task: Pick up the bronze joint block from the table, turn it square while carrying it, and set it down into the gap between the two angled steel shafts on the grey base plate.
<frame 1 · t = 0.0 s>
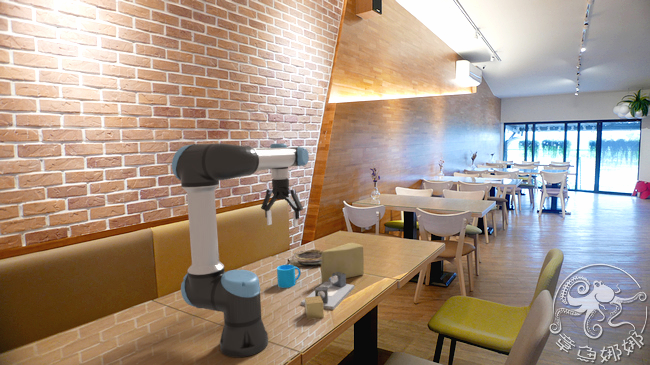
hand: (282, 225, 168), 28 cm above the table, tool pointing down, fingers open, 13 cm apart
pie: (311, 262, 207), on the table
shaft left: (322, 302, 152), resting on grey base plate
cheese: (341, 278, 179), on the table
grey base plate: (329, 295, 158), on the table
shaft right: (337, 288, 166), resting on grey base plate
mug: (290, 283, 174), on the table
joint block: (314, 315, 141), on the table
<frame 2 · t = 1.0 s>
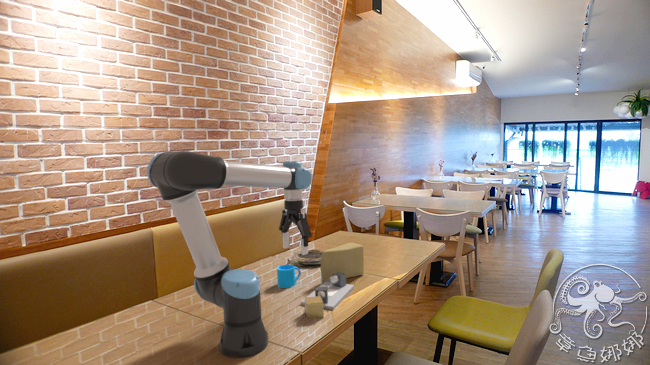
hand: (295, 251, 154), 20 cm above the table, tool pointing down, fingers open, 13 cm apart
nothing on the table moved.
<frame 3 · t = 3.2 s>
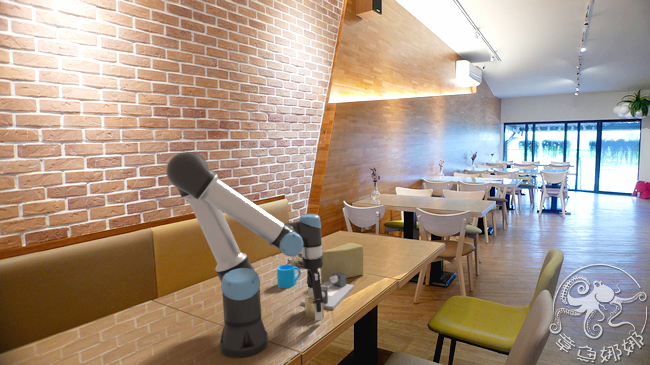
hand: (315, 311, 140), 1 cm above the table, tool pointing down, fingers open, 13 cm apart
nothing on the table moved.
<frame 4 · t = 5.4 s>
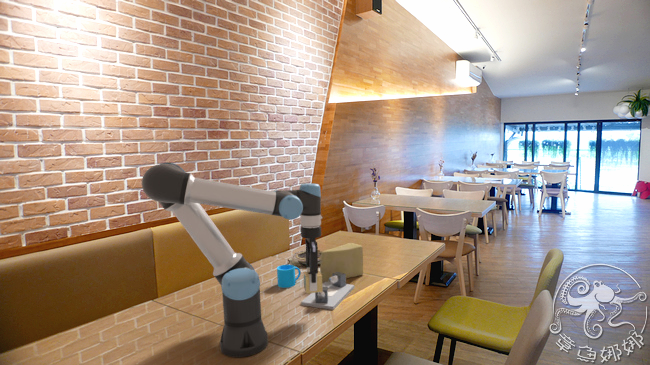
hand: (311, 287, 139), 11 cm above the table, tool pointing down, fingers closed on joint block, 6 cm apart
joint block: (313, 289, 140), point 10 cm above the table, touching gripper
everything else where it was.
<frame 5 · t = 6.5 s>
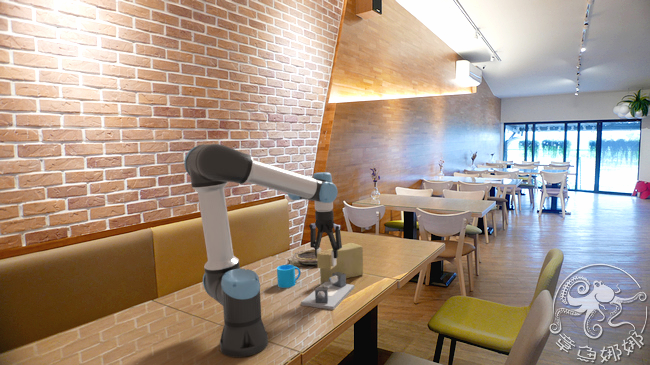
hand: (326, 264, 157), 14 cm above the table, tool pointing down, fingers closed on joint block, 6 cm apart
joint block: (327, 266, 157), point 13 cm above the table, touching gripper
everything else where it was.
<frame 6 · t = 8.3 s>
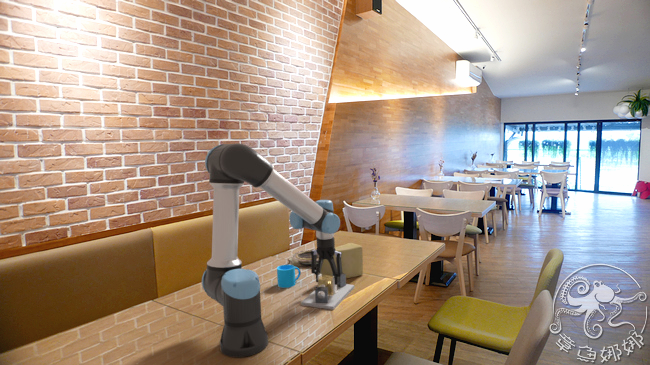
hand: (327, 290, 159), 2 cm above the table, tool pointing down, fingers closed on joint block, 6 cm apart
joint block: (327, 291, 159), point 1 cm above the table, touching grey base plate, gripper
everything else where it was.
when the fingers open (2 cm above the table, at t = 8.5 s): joint block stays where it is, resting on grey base plate.
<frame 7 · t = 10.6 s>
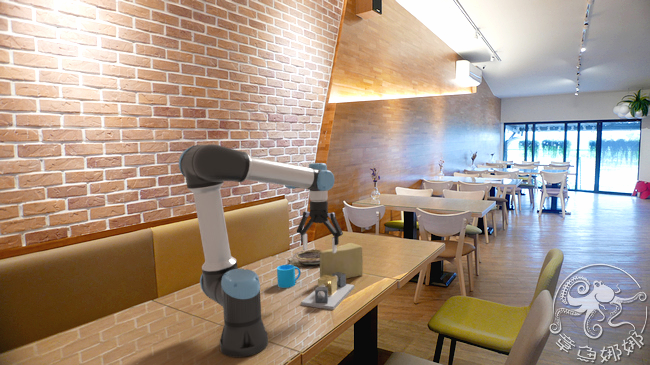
hand: (319, 251, 157), 19 cm above the table, tool pointing down, fingers open, 13 cm apart
joint block: (327, 291, 159), point 1 cm above the table, touching grey base plate
everything else where it was.
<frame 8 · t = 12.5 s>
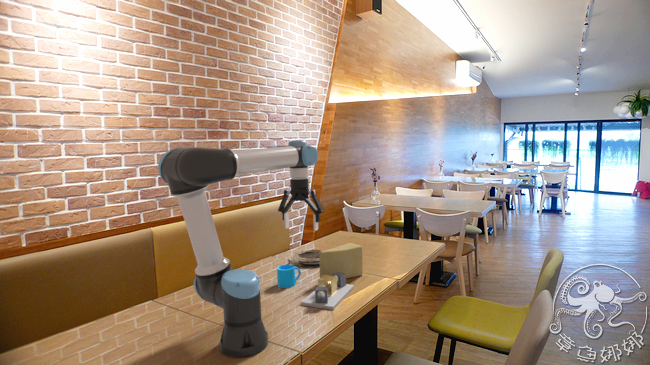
hand: (301, 229, 156), 29 cm above the table, tool pointing down, fingers open, 13 cm apart
nothing on the table moved.
at the end: joint block 0.6 cm from the target spot, point 1.3 cm above the table; joint block tilted 0°; the gripper is holding nothing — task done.
